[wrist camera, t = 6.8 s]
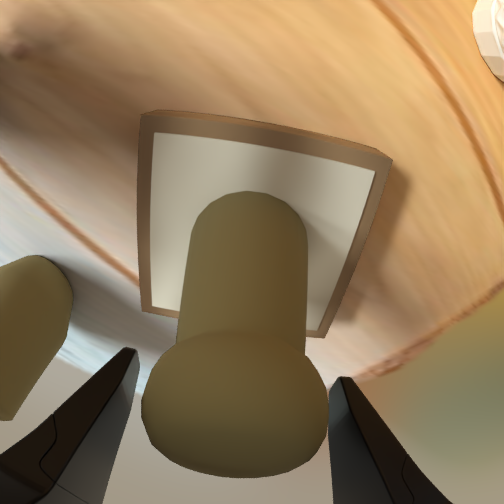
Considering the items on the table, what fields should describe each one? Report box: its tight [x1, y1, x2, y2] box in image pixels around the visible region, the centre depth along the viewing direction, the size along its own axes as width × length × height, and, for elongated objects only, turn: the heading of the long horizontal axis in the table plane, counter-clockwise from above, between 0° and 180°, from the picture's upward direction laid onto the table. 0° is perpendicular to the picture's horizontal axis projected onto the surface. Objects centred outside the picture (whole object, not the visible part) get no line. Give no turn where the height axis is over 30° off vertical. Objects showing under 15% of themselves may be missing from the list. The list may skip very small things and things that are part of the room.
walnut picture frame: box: [137, 110, 393, 338], centre depth 17 cm, size 12×12×3 cm
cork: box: [141, 191, 329, 478], centre depth 11 cm, size 6×6×11 cm
